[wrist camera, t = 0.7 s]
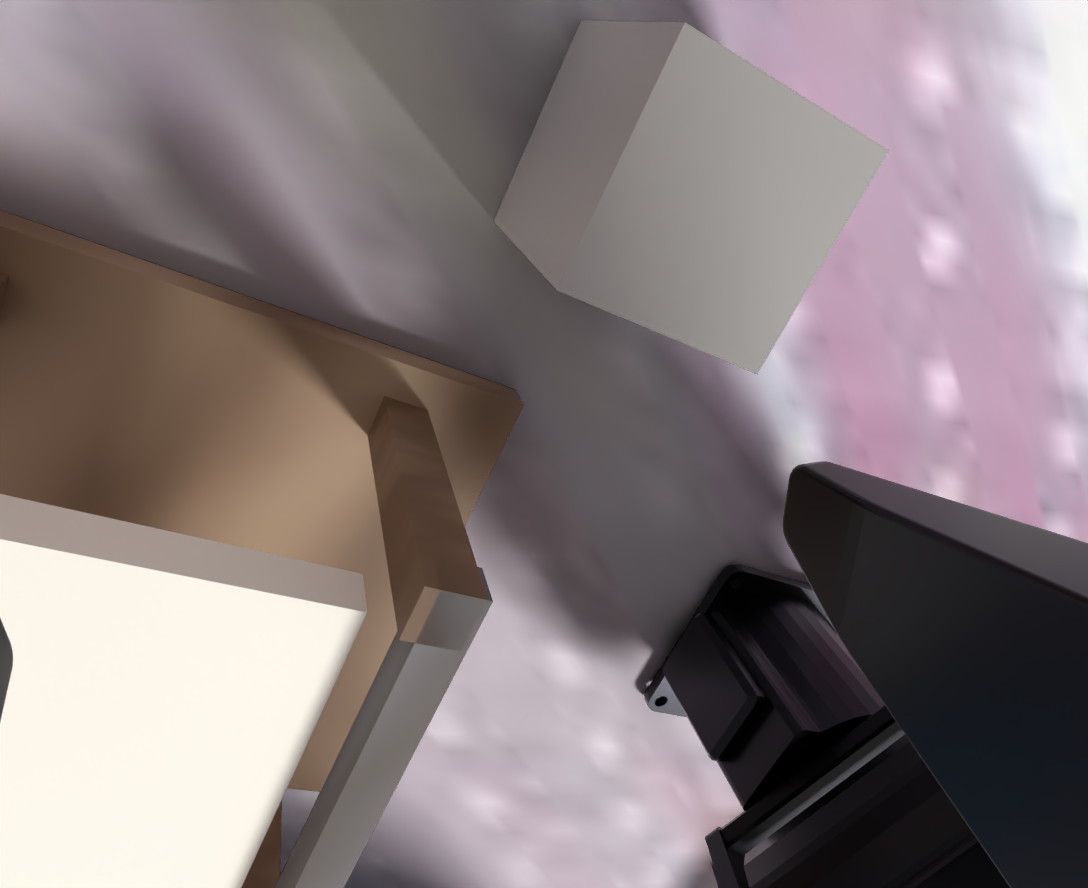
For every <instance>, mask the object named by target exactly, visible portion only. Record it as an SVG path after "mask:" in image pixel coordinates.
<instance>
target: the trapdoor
mask: <svg viewBox="0 0 1088 888" xmlns="http://www.w3.org/2000/svg"><path fill="white" fill-rule="evenodd" d="M366 614H367V606H366V597H365V588H364V578H363V574H361V573H356V572H352V571H347V570H343V569H338V568H334V567H329V566H325V565H320V564H316V563H311V562H306V561H302V560H297V559H293V558H288V557H284V556H279V555H275V554H270V553H266V552H261V551H257V550H252V549H248V548H243V547H239V546H234V545H229V544H225V543H220V542H216V541H211V540H207V539H202V538H198V537H193V536H189V535H184V534H180V533H175V532H171V531H166V530H162V529H157V528H153V527H148V526H143V525H139V524H134V523H130V522H125V521H121V520H116V519H112V518H107V517H103V516H98V515H94V514H89V513H85V512H80V511H76V510H71V509H66V508H62V507H57V506H53V505H48V504H44V503H39V502H35V501H30V500H26V499H21V498H17V497H12V496H8V495H3V494H0V618H1V621H2V623H3V626H4V628H5V630H6V633H7V635H8V638H9V640H10V643H11V646H12V651H13V667H12V672H11V677H10V681H9V686H8V690H7V695H6V699H5V704H4V708H3V713H2V717H1V722H0V888H241V887H242V885H243V883H244V881H245V879H246V876H247V874H248V872H249V870H250V868H251V865H252V863H253V861H254V859H255V857H256V855H257V852H258V850H259V848H260V846H261V844H262V841H263V839H264V837H265V835H266V833H267V830H268V828H269V826H270V824H271V822H272V820H273V817H274V815H275V813H276V811H277V809H278V806H279V804H280V802H281V800H282V798H283V796H284V793H285V791H286V789H287V787H288V785H289V782H290V780H291V778H292V776H293V774H294V771H295V769H296V767H297V765H298V763H299V761H300V758H301V756H302V754H303V752H304V750H305V747H306V745H307V743H308V741H309V739H310V736H311V734H312V732H313V730H314V728H315V726H316V723H317V721H318V719H319V717H320V715H321V712H322V710H323V708H324V706H325V704H326V702H327V699H328V697H329V695H330V693H331V691H332V688H333V686H334V684H335V682H336V680H337V677H338V675H339V673H340V671H341V669H342V667H343V664H344V662H345V660H346V658H347V656H348V653H349V651H350V649H351V647H352V645H353V642H354V640H355V638H356V636H357V634H358V632H359V629H360V627H361V625H362V623H363V621H364V618H365V616H366Z"/></svg>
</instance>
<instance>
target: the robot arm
mask: <svg viewBox="0 0 1088 888" xmlns="http://www.w3.org/2000/svg"><path fill="white" fill-rule="evenodd" d="M783 531H784V536H785V539H786V541H787V543H788V545H789V547H790V549H791V551H792V553H793V554H794V556H795V558H796V560H797V562H798V564H799V566H800V567H801V569H802V571H803V573H804V575H805V577H806V578H807V580H808V582H809V584H810V585H809V584H805V583H802V582H798V581H795V580H791V579H788V578H784V577H781V576H777V575H774V574H770V573H767V572H763V571H760V570H756V569H752V568H749V567H745V566H742V565H736V564H734V565H730V566H728V567H726V568H725V569H724V570H723V571H722V572H721V573H720V575H719V576H718V578H717V580H716V581H715V583H714V584H713V586H712V588H711V589H710V591H709V592H708V594H707V596H706V597H705V599H704V600H703V602H702V603H701V605H700V607H699V608H698V610H697V611H696V613H695V615H694V616H693V618H692V619H691V621H690V622H689V624H688V626H687V627H686V629H685V630H684V632H683V634H682V635H681V637H680V638H679V640H678V642H677V643H676V645H675V646H674V648H673V649H672V651H671V653H670V654H669V656H668V657H667V659H666V661H665V662H664V664H663V665H662V667H661V668H660V670H659V672H658V673H657V675H656V676H655V678H654V680H653V681H652V683H651V684H650V686H649V688H648V689H647V691H646V693H645V695H644V696H645V701H646V703H647V705H648V707H649V708H650V709H651V710H652V711H655V712H661V713H667V714H672V715H678V716H684V717H688V719H689V721H690V723H691V725H692V727H693V728H694V730H695V732H696V734H697V736H698V737H699V739H700V741H701V743H702V745H703V747H704V748H705V750H706V752H707V754H708V756H709V757H710V758H711V760H715V761H717V763H718V765H719V766H720V768H721V770H722V772H723V774H724V775H725V777H726V779H727V781H728V783H729V784H730V786H731V788H732V790H733V792H734V793H735V795H736V797H737V799H738V801H739V802H740V804H741V806H742V808H743V810H744V812H742V813H741V814H740V815H739V816H737V817H736V818H735V819H733V820H732V821H731V822H729V823H728V824H727V825H725V826H724V827H723V828H720V827H718V828H716V829H715V830H714V831H712V832H711V833H710V834H708V835H707V836H706V837H705V839H706V842H707V845H708V849H709V852H710V855H711V858H712V861H713V862H712V863H711V865H712V868H713V871H714V874H715V877H716V881H717V884H718V887H719V888H1088V543H1086V542H1083V541H1079V540H1076V539H1073V538H1070V537H1067V536H1064V535H1060V534H1057V533H1054V532H1051V531H1048V530H1044V529H1041V528H1038V527H1035V526H1032V525H1028V524H1025V523H1022V522H1019V521H1016V520H1012V519H1009V518H1006V517H1003V516H1000V515H996V514H993V513H990V512H987V511H984V510H981V509H977V508H974V507H971V506H968V505H965V504H961V503H958V502H955V501H952V500H949V499H945V498H942V497H939V496H936V495H933V494H929V493H926V492H923V491H920V490H917V489H913V488H910V487H907V486H904V485H901V484H898V483H894V482H891V481H888V480H885V479H882V478H878V477H875V476H872V475H869V474H866V473H862V472H859V471H856V470H853V469H850V468H846V467H843V466H840V465H837V464H834V463H831V462H815V463H808V464H802V465H798V466H796V467H795V468H794V469H793V470H792V472H791V474H790V478H789V484H788V490H787V497H786V503H785V510H784V516H783ZM737 577H738V578H737ZM735 578H737V579H736V580H735V581H733V582H731V581H732V580H733V579H735ZM12 667H13V651H12V646H11V643H10V640H9V638H8V635H7V633H6V630H5V628H4V626H3V623H2V621H1V618H0V722H1V717H2V713H3V708H4V704H5V699H6V695H7V690H8V686H9V681H10V677H11V672H12Z"/></svg>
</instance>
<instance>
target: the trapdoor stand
mask: <svg viewBox="0 0 1088 888" xmlns="http://www.w3.org/2000/svg"><path fill="white" fill-rule="evenodd" d="M523 405H524V404H523V402H522V400H521V399H520V397H519V395H518V393H517V392H516V390H515V389H512V388H509V387H506V386H503V385H500V384H497V383H495V382H492V381H489V380H486V379H483V378H480V377H477V376H474V375H472V374H469V373H466V372H463V371H460V370H457V369H454V368H452V367H449V366H446V365H443V364H440V363H437V362H434V361H431V360H429V359H426V358H423V357H420V356H417V355H414V354H411V353H409V352H406V351H403V350H400V349H397V348H394V347H391V346H388V345H386V344H383V343H380V342H377V341H374V340H371V339H368V338H366V337H363V336H360V335H357V334H354V333H351V332H348V331H345V330H343V329H340V328H337V327H334V326H331V325H328V324H325V323H323V322H320V321H317V320H314V319H311V318H308V317H305V316H303V315H300V314H297V313H294V312H291V311H288V310H285V309H282V308H280V307H277V306H274V305H271V304H268V303H265V302H262V301H260V300H257V299H254V298H251V297H248V296H245V295H242V294H239V293H237V292H234V291H231V290H228V289H225V288H222V287H219V286H217V285H214V284H211V283H208V282H205V281H202V280H199V279H196V278H194V277H191V276H188V275H185V274H182V273H179V272H176V271H174V270H171V269H168V268H165V267H162V266H159V265H156V264H153V263H151V262H148V261H145V260H142V259H139V258H136V257H133V256H131V255H128V254H125V253H122V252H119V251H116V250H113V249H110V248H108V247H105V246H102V245H99V244H96V243H93V242H90V241H88V240H85V239H82V238H79V237H76V236H73V235H70V234H68V233H65V232H62V231H59V230H56V229H53V228H50V227H47V226H45V225H42V224H39V223H36V222H33V221H30V220H27V219H25V218H22V217H19V216H16V215H13V214H10V213H7V212H4V211H2V210H0V494H3V495H8V496H12V497H17V498H21V499H26V500H30V501H35V502H39V503H44V504H48V505H53V506H57V507H62V508H66V509H71V510H76V511H80V512H85V513H89V514H94V515H98V516H103V517H107V518H112V519H116V520H121V521H125V522H130V523H134V524H139V525H143V526H148V527H153V528H157V529H162V530H166V531H171V532H175V533H180V534H184V535H189V536H193V537H198V538H202V539H207V540H211V541H216V542H220V543H225V544H229V545H234V546H239V547H243V548H248V549H252V550H257V551H261V552H266V553H270V554H275V555H279V556H284V557H288V558H293V559H297V560H302V561H306V562H311V563H316V564H320V565H325V566H329V567H334V568H338V569H343V570H347V571H352V572H356V573H361V574H363V578H364V588H365V597H366V606H367V614H366V616H365V618H364V621H363V623H362V625H361V627H360V629H359V632H358V634H357V636H356V638H355V640H354V642H353V645H352V647H351V649H350V651H349V653H348V656H347V658H346V660H345V662H344V664H343V667H342V669H341V671H340V673H339V675H338V677H337V680H336V682H335V684H334V686H333V688H332V691H331V693H330V695H329V697H328V699H327V702H326V704H325V706H324V708H323V710H322V712H321V715H320V717H319V719H318V721H317V723H316V726H315V728H314V730H313V732H312V734H311V736H310V739H309V741H308V743H307V745H306V747H305V750H304V752H303V754H302V756H301V758H300V761H299V763H298V765H297V767H296V769H295V771H294V774H293V776H292V778H291V780H290V782H289V785H288V787H287V788H290V789H300V790H310V791H319V792H320V794H319V796H318V798H317V800H316V802H315V804H314V806H313V808H312V810H311V813H310V815H309V817H308V819H307V821H306V823H305V825H304V827H303V829H302V831H301V833H300V836H299V838H298V840H297V842H296V844H295V846H294V848H293V850H292V852H291V854H290V856H289V859H288V861H287V863H286V865H285V867H284V869H283V871H282V873H281V875H280V848H281V811H282V800H281V802H280V804H279V806H278V809H277V811H276V813H275V815H274V817H273V820H272V822H271V824H270V826H269V828H268V830H267V833H266V835H265V837H264V839H263V841H262V844H261V846H260V848H259V850H258V852H257V855H256V857H255V859H254V861H253V863H252V865H251V868H250V870H249V872H248V874H247V876H246V879H245V881H244V883H243V885H242V887H241V888H344V886H345V884H346V883H347V881H348V879H349V877H350V875H351V873H352V871H353V869H354V867H355V865H356V863H357V861H358V859H359V858H360V856H361V854H362V852H363V850H364V848H365V846H366V844H367V842H368V840H369V838H370V836H371V834H372V833H373V831H374V829H375V827H376V825H377V823H378V821H379V819H380V817H381V815H382V813H383V811H384V810H385V808H386V806H387V804H388V802H389V800H390V798H391V796H392V794H393V792H394V790H395V788H396V786H397V785H398V783H399V781H400V779H401V777H402V775H403V773H404V771H405V769H406V767H407V765H408V763H409V761H410V760H411V758H412V756H413V754H414V752H415V750H416V748H417V746H418V744H419V742H420V740H421V738H422V737H423V735H424V733H425V731H426V729H427V727H428V725H429V723H430V721H431V719H432V717H433V715H434V713H435V712H436V710H437V708H438V706H439V704H440V702H441V700H442V698H443V696H444V694H445V692H446V690H447V688H448V687H449V685H450V683H451V681H452V679H453V677H454V675H455V673H456V671H457V669H458V667H459V665H460V664H461V662H462V660H463V658H464V656H465V654H466V652H467V650H468V648H469V646H470V644H471V642H472V640H473V639H474V637H475V635H476V633H477V631H478V629H479V627H480V625H481V623H482V621H483V619H484V617H485V615H486V614H487V612H488V610H489V608H490V606H491V604H492V602H493V600H492V597H491V594H490V591H489V588H488V585H487V582H486V579H485V576H484V573H483V570H482V568H479V567H477V565H476V561H475V558H474V555H473V552H472V549H471V546H470V542H469V539H468V536H467V533H466V530H465V527H464V526H465V524H466V522H467V520H468V518H469V516H470V514H471V512H472V510H473V508H474V506H475V504H476V502H477V500H478V498H479V496H480V494H481V491H482V489H483V487H484V485H485V483H486V481H487V479H488V477H489V475H490V473H491V471H492V469H493V467H494V465H495V463H496V461H497V459H498V457H499V454H500V452H501V450H502V448H503V446H504V444H505V442H506V440H507V438H508V436H509V434H510V432H511V430H512V428H513V426H514V424H515V422H516V420H517V417H518V415H519V413H520V411H521V409H522V407H523Z"/></svg>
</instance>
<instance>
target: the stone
mask: <svg viewBox="0 0 1088 888" xmlns="http://www.w3.org/2000/svg"><path fill="white" fill-rule="evenodd" d="M888 151H889V150H888V149H886V148H885V147H883V146H882V145H880V144H878V143H877V142H875V141H874V140H872V139H870V138H869V137H867V136H866V135H864V134H862V133H861V132H859V131H858V130H856V129H855V128H853V127H851V126H850V125H848V124H847V123H845V122H843V121H842V120H840V119H839V118H837V117H835V116H834V115H832V114H831V113H829V112H827V111H826V110H824V109H823V108H821V107H819V106H818V105H816V104H815V103H813V102H811V101H810V100H808V99H807V98H805V97H804V96H802V95H800V94H799V93H797V92H796V91H794V90H792V89H791V88H789V87H788V86H786V85H784V84H783V83H781V82H780V81H778V80H776V79H775V78H773V77H772V76H770V75H768V74H767V73H765V72H764V71H762V70H761V69H759V68H757V67H756V66H754V65H753V64H751V63H749V62H748V61H746V60H745V59H743V58H741V57H740V56H738V55H737V54H735V53H733V52H732V51H730V50H729V49H727V48H725V47H724V46H722V45H721V44H719V43H718V42H716V41H714V40H713V39H711V38H710V37H708V36H706V35H705V34H703V33H702V32H700V31H698V30H697V29H695V28H694V27H692V26H690V25H689V24H687V23H686V22H646V21H587V20H581V21H580V24H579V26H578V28H577V31H576V33H575V35H574V37H573V40H572V42H571V44H570V47H569V49H568V51H567V54H566V56H565V58H564V60H563V63H562V65H561V67H560V70H559V72H558V74H557V77H556V79H555V81H554V83H553V86H552V88H551V90H550V93H549V95H548V97H547V99H546V102H545V104H544V106H543V109H542V111H541V113H540V116H539V118H538V120H537V122H536V125H535V127H534V129H533V132H532V134H531V136H530V139H529V141H528V143H527V145H526V148H525V150H524V152H523V155H522V157H521V159H520V162H519V164H518V166H517V168H516V171H515V173H514V175H513V178H512V180H511V182H510V185H509V187H508V189H507V191H506V194H505V196H504V198H503V201H502V203H501V205H500V208H499V210H498V212H497V214H496V217H495V219H494V221H493V222H494V223H495V224H496V225H497V226H498V227H499V228H500V229H501V230H502V231H503V232H504V234H505V235H506V236H507V237H508V238H509V239H510V240H511V241H512V242H513V243H514V244H515V246H516V247H517V248H518V249H519V250H520V251H521V252H522V253H523V254H524V255H525V256H526V258H527V259H528V260H529V261H530V262H531V263H532V264H533V265H534V266H535V267H536V268H537V270H538V271H539V272H540V273H541V274H542V275H543V276H544V277H545V278H546V279H547V280H548V282H549V283H550V284H551V285H552V286H553V287H554V288H555V289H556V290H557V291H559V292H561V293H564V294H566V295H568V296H571V297H573V298H576V299H578V300H580V301H583V302H585V303H588V304H590V305H592V306H595V307H597V308H599V309H602V310H604V311H607V312H609V313H611V314H614V315H616V316H619V317H621V318H623V319H626V320H628V321H631V322H633V323H635V324H638V325H640V326H643V327H645V328H647V329H650V330H652V331H654V332H657V333H659V334H662V335H664V336H666V337H669V338H671V339H674V340H676V341H678V342H681V343H683V344H686V345H688V346H690V347H693V348H695V349H698V350H700V351H702V352H705V353H707V354H709V355H712V356H714V357H717V358H719V359H721V360H724V361H726V362H729V363H731V364H733V365H736V366H738V367H741V368H743V369H745V370H748V371H750V372H753V373H755V374H758V372H759V370H760V368H761V367H762V365H763V363H764V362H765V360H766V358H767V357H768V355H769V353H770V352H771V350H772V348H773V346H774V345H775V343H776V341H777V340H778V338H779V336H780V335H781V333H782V331H783V329H784V328H785V326H786V324H787V323H788V321H789V319H790V318H791V316H792V314H793V313H794V311H795V309H796V307H797V306H798V304H799V302H800V301H801V299H802V297H803V296H804V294H805V292H806V290H807V289H808V287H809V285H810V284H811V282H812V280H813V279H814V277H815V275H816V274H817V272H818V270H819V268H820V267H821V265H822V263H823V262H824V260H825V258H826V257H827V255H828V253H829V252H830V250H831V248H832V246H833V245H834V243H835V241H836V240H837V238H838V236H839V235H840V233H841V231H842V229H843V228H844V226H845V224H846V223H847V221H848V219H849V218H850V216H851V214H852V213H853V211H854V209H855V207H856V206H857V204H858V202H859V201H860V199H861V197H862V196H863V194H864V192H865V190H866V189H867V187H868V185H869V184H870V182H871V180H872V179H873V177H874V175H875V174H876V172H877V170H878V168H879V167H880V165H881V163H882V162H883V160H884V158H885V157H886V155H887V153H888Z"/></svg>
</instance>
